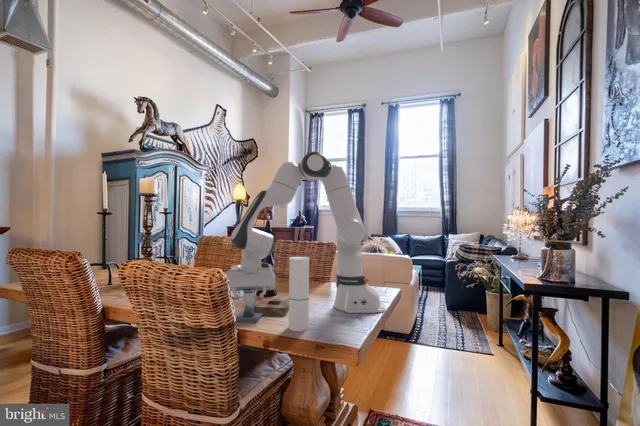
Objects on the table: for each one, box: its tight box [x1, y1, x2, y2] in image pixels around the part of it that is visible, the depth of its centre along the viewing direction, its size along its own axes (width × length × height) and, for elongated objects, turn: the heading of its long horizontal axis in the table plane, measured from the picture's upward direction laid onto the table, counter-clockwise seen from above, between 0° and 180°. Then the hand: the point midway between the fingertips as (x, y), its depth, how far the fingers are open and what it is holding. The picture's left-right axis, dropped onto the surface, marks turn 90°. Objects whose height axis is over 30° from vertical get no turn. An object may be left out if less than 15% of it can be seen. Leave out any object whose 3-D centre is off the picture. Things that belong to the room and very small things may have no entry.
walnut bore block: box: [255, 297, 289, 316], centre depth 132 cm, size 13×13×3 cm
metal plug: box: [242, 289, 256, 317], centre depth 121 cm, size 4×4×10 cm
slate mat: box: [235, 311, 264, 324], centre depth 121 cm, size 9×9×1 cm
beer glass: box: [230, 264, 243, 299], centre depth 153 cm, size 7×7×15 cm
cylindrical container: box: [288, 256, 310, 332], centre depth 112 cm, size 7×7×25 cm
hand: (249, 299), depth 121 cm, fingers open, 8 cm apart
